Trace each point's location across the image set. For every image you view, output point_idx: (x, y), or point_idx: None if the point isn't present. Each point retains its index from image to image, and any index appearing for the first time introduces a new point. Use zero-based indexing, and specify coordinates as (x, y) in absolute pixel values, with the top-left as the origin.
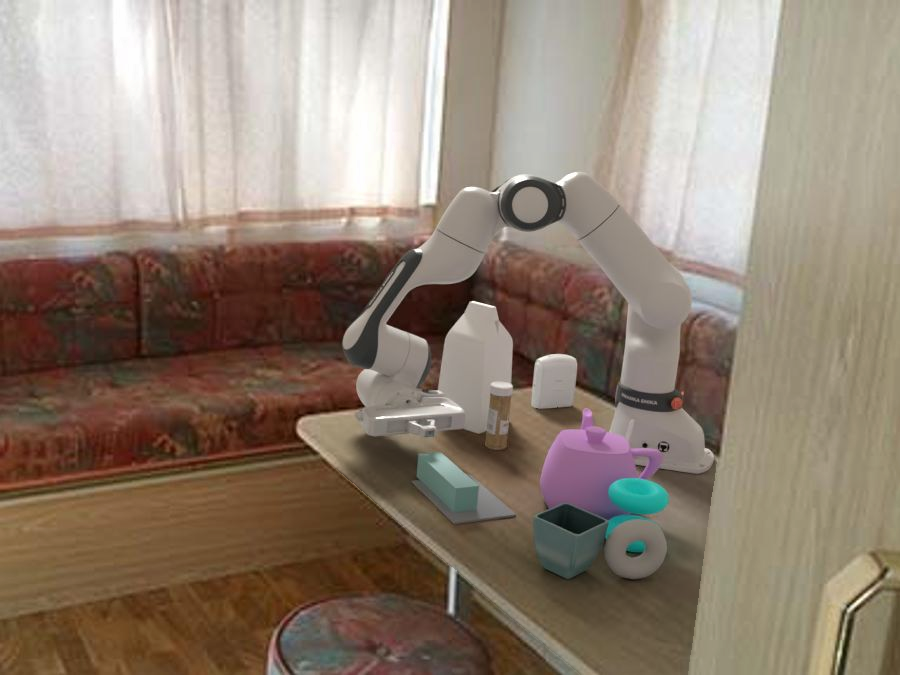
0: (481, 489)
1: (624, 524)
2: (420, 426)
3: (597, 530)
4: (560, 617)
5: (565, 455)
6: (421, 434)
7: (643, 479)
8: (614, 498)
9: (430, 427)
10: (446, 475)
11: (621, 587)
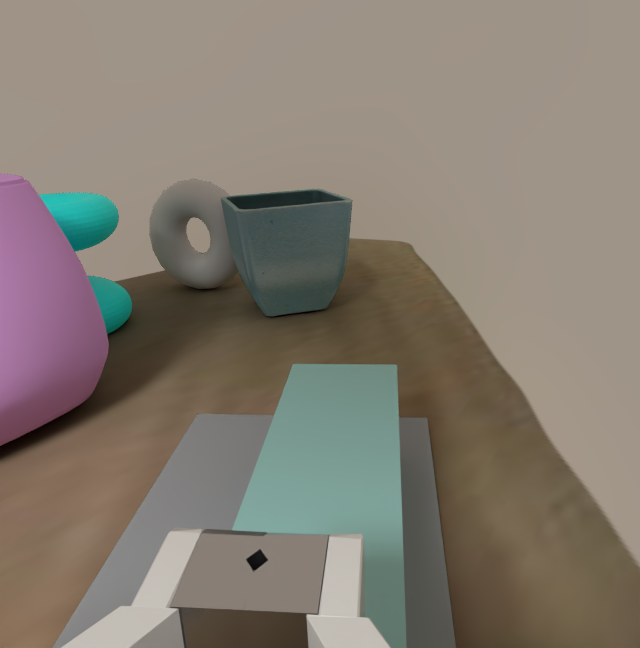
0: (134, 565)
1: (217, 187)
2: (349, 598)
3: (260, 201)
4: (389, 267)
5: (42, 201)
6: (364, 610)
7: None
8: (113, 216)
9: (235, 547)
10: (374, 429)
11: (243, 282)
